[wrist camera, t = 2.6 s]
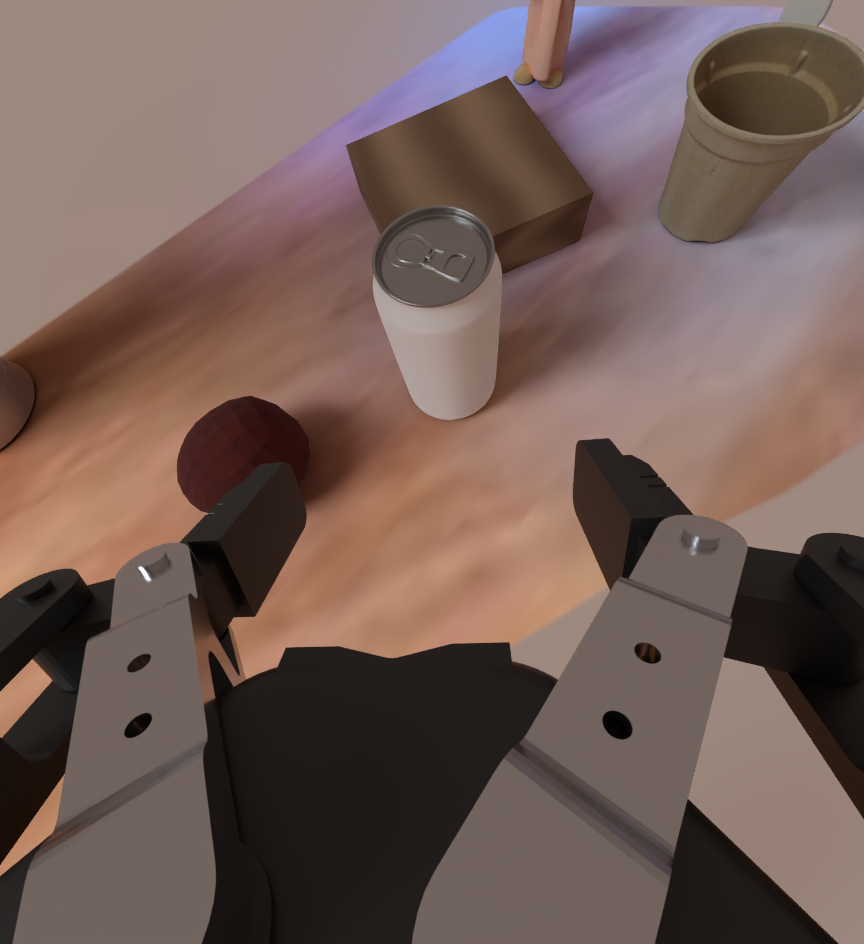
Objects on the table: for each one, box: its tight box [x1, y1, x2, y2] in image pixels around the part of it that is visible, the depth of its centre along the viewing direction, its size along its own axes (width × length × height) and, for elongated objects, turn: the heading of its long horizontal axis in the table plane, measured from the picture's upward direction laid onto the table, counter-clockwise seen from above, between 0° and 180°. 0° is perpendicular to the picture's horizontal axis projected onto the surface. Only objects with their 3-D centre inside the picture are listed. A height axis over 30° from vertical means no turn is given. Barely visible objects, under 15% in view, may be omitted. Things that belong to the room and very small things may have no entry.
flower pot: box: [659, 22, 864, 243], centre depth 26 cm, size 9×9×9 cm
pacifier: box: [779, 0, 833, 27], centre depth 30 cm, size 7×6×6 cm
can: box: [372, 205, 502, 420], centre depth 24 cm, size 6×6×12 cm
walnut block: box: [346, 75, 593, 274], centre depth 31 cm, size 14×14×4 cm
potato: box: [177, 396, 310, 513], centre depth 26 cm, size 7×8×7 cm
